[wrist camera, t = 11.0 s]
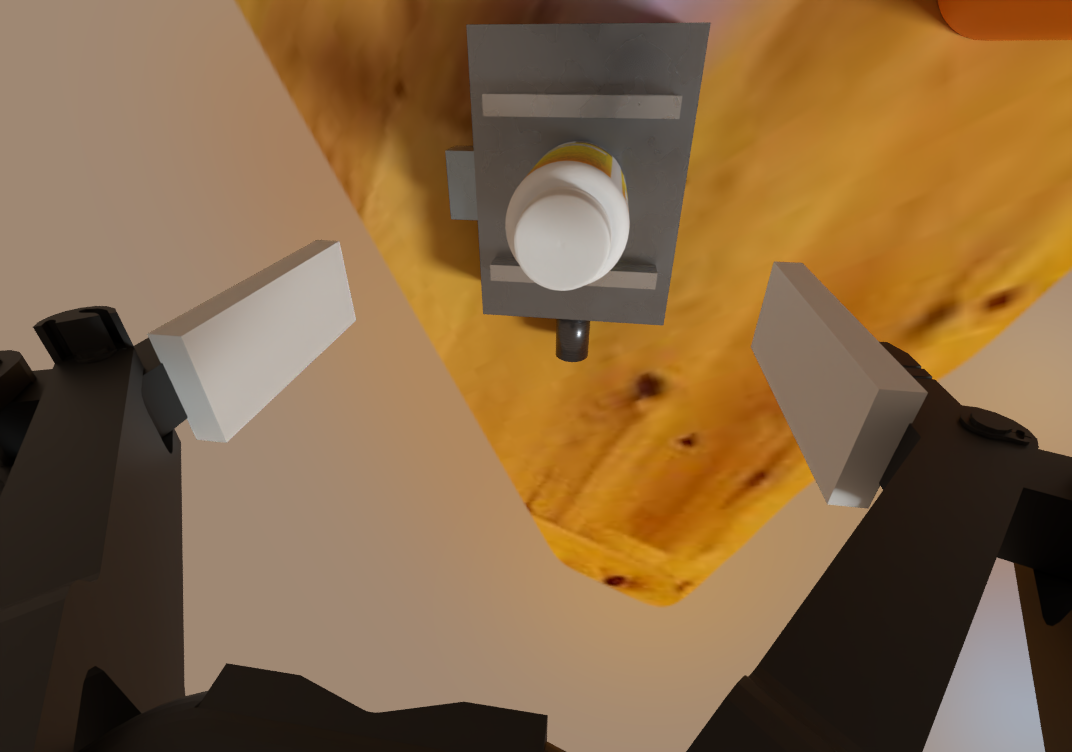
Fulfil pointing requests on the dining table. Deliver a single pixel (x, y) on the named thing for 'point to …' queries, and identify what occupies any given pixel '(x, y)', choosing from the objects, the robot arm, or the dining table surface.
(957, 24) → the shaker bottle
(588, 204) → the supplement bottle
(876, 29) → the dining table surface
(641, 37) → the motor block
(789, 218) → the dining table surface
